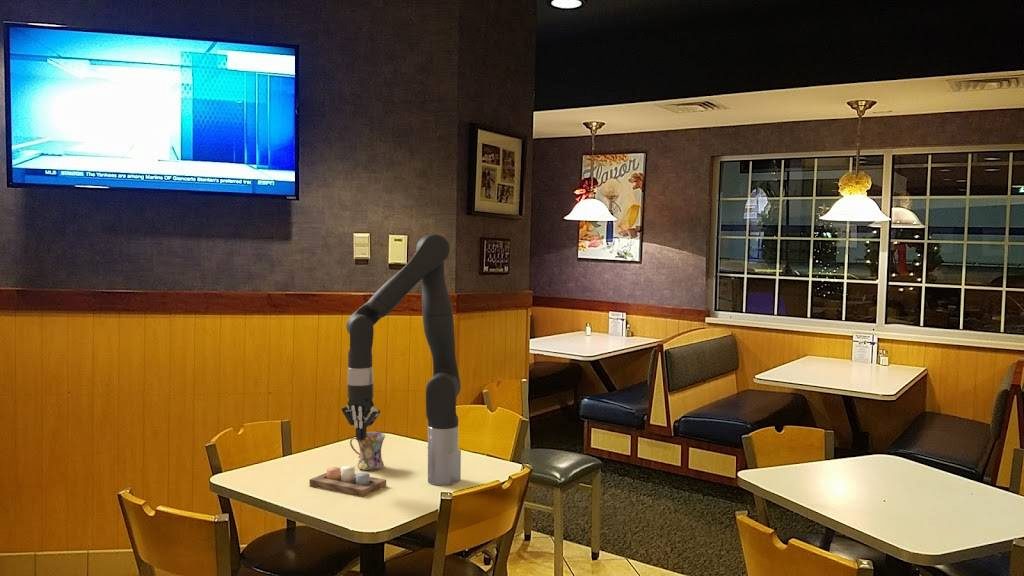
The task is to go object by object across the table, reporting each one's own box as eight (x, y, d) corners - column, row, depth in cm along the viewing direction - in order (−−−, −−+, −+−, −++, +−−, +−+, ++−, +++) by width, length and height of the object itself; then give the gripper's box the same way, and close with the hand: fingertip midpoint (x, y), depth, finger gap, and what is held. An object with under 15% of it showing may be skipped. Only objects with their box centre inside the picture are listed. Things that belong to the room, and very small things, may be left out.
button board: (386, 486, 237) (386, 479, 237) (363, 496, 228) (363, 490, 227) (333, 476, 246) (333, 469, 246) (309, 486, 237) (309, 479, 237)
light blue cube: (372, 487, 235) (372, 473, 235) (363, 490, 232) (363, 477, 231) (361, 484, 237) (361, 471, 237) (352, 488, 234) (352, 475, 233)
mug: (390, 465, 259) (390, 433, 258) (376, 473, 250) (376, 440, 249) (357, 461, 262) (357, 430, 262) (343, 469, 254) (342, 436, 253)
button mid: (357, 480, 238) (357, 467, 237) (348, 483, 234) (348, 470, 234) (346, 478, 240) (346, 465, 239) (338, 481, 236) (338, 468, 236)
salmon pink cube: (343, 481, 240) (343, 468, 240) (334, 484, 237) (334, 471, 237) (332, 479, 242) (332, 466, 242) (323, 482, 239) (323, 469, 238)
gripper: (386, 381, 234) (387, 439, 235) (350, 378, 240) (351, 434, 241) (371, 386, 227) (371, 445, 228) (334, 382, 233) (335, 440, 234)
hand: (361, 440), depth 235 cm, fingers closed
